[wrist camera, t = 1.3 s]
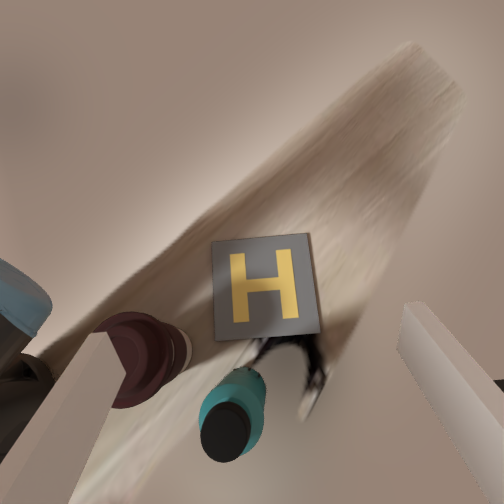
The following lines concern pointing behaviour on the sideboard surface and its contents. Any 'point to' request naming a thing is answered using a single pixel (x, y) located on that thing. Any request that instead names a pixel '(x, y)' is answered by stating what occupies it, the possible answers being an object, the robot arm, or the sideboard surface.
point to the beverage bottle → (233, 415)
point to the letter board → (263, 288)
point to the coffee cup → (145, 354)
